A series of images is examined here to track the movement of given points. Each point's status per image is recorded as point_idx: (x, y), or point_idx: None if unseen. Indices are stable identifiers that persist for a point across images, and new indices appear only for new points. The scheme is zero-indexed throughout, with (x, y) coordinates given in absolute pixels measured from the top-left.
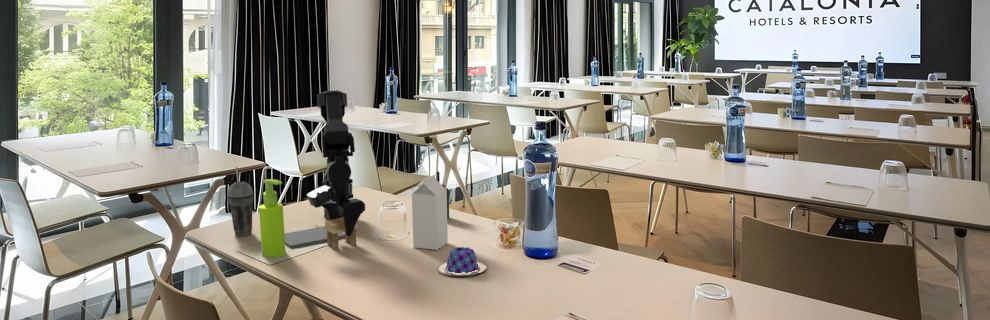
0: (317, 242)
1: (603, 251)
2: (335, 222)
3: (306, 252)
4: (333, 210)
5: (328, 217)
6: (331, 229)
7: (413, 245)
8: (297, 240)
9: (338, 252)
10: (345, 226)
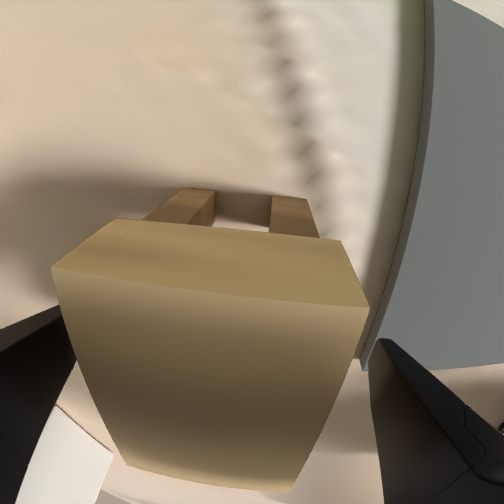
0: (413, 181)
1: None
2: (141, 357)
3: (267, 8)
4: (425, 498)
5: (456, 396)
6: (128, 237)
7: (52, 410)
8: (501, 94)
9: (116, 181)
10: (9, 333)
